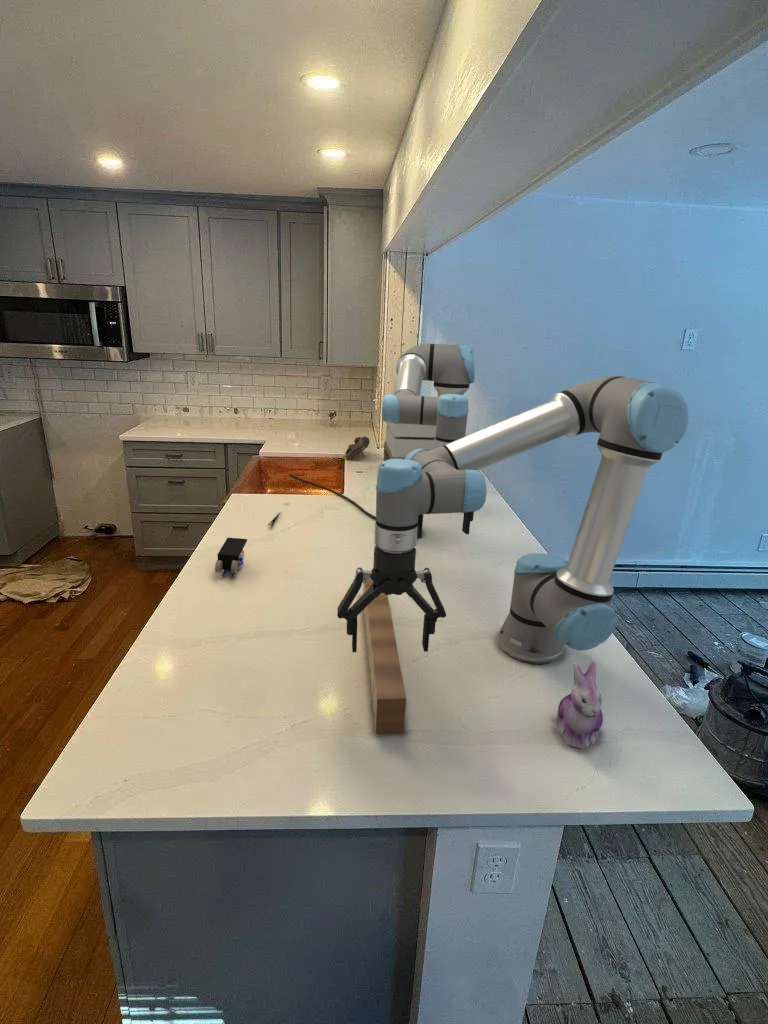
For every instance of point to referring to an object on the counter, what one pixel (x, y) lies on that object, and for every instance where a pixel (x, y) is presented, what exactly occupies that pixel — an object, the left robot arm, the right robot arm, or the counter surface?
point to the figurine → (581, 709)
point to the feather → (273, 520)
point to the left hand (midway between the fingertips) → (442, 534)
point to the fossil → (357, 447)
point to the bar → (384, 666)
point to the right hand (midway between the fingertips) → (389, 648)
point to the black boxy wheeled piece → (230, 556)
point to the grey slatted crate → (407, 439)
